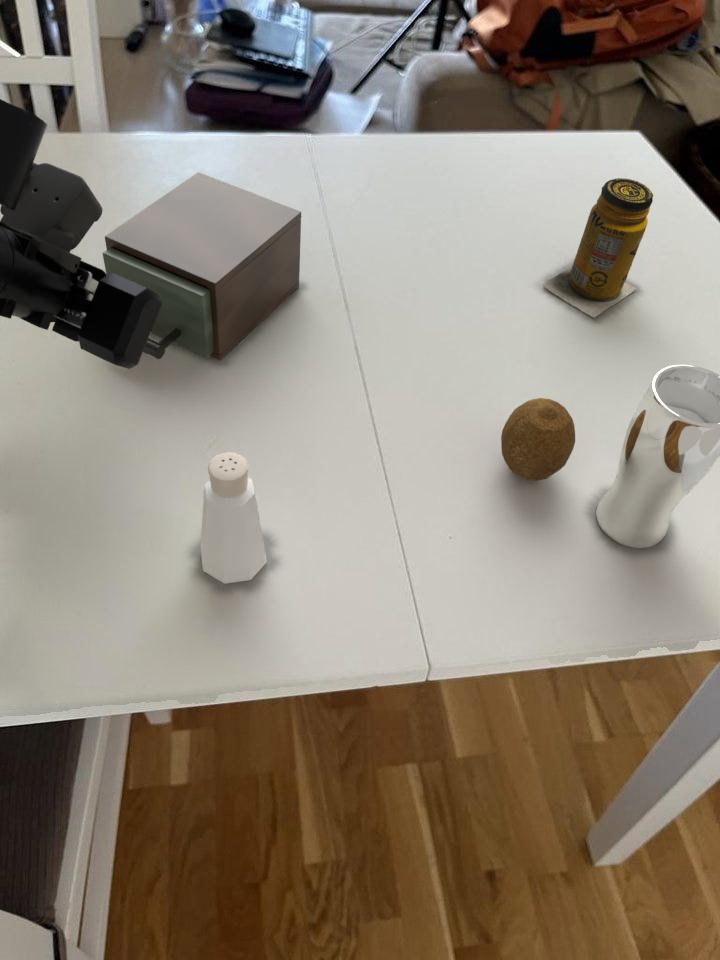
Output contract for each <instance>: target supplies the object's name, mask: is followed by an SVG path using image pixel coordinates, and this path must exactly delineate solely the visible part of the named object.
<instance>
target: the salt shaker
mask: <svg viewBox="0 0 720 960" xmlns="http://www.w3.org/2000/svg"><path fill="white" fill-rule="evenodd" d="M249 468H250V467H249V462H248V461H247V459H246V458H245V457H244V456H243V455H240V454H239V453H237V452H229V451H227V452H222V453H218V454H217V455H215V456H214V457H212V458H211V459H210V461H209V462H208V464H207V471H208V472H207V473H208V476H209V480H208V481H207V482H205V484H204V487H203V498H202V517H201V532H200V548H199V549H200V557H201V565H202V571H203V572H204V573H206V574H207V575H209V576H211V577H212V578H214V579H216V580H217V581H219V582H221V583H222V584H233V583H239V582H240V583H241V582H246V581H247V582H248V581H252V580H253V579H254V578H255V577H256V575H257V574H258V573H259V572H260V571H261V569H262V568H263V567H264V566H265V565H266V564H267V563H268V559H267V558H268V557H267V553H266V547H265V542H264V536H263V531H262V525H261V519H260V514H259V513H260V512H259V508H258V502H257V497H256V493H255V487H254V481H253V478H252V477H249Z"/></svg>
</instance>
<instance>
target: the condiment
mask: <svg viewBox="0 0 720 960" xmlns="http://www.w3.org/2000/svg"><path fill="white" fill-rule="evenodd" d="M653 198H654V193H653V192H652V191H651V189H650V188H649V187H648V186H646V184H643V183H642V182H639V181H638V180H634V179H631V178H623V177H622V178H621V177H619V178H618V177H617V178H613V179H609V180H608V181H606V182H605V183H604V184H603V186H602V187H601V193H600V195H599V196H598V198H597V199H596V203H595V204H594V205H593V206H592V207H591V209H590V212H589V215H588V217H587V220H586V224H585V226H584V230H583V233H582V236H581V239H580V242H579V245H578V248H577V251H576V254H575V257H574V260H573V262H572V266H571V267H569V268H567V269H565V270H564V271H562V272H559V273H558V274H556V275H554V277H552V278H551V279H548V280H546V281H545V282H543V283H542V284H541V286H543V287H544V288H546V289H547V290H548V291H549V292H551V293H552V294H555V295H556V296H558V298H560V299H562V300H563V301H565V302H566V303H568V304H569V305H570V307H571V306H572V307H574V308H577V309H578V310H580V311H581V312H582V313H585V314H587V315H588V316H590V317H591V318H593V319H595V318H596V317H598V316H599V315H601V314H602V313H604V311H606V310H607V309H609V308H611V307H612V306H614V305H615V304H617V303H619V302H620V301H622V300H623V299H625V298H626V297H628V296H629V295H631V294H632V293H633V292H634V291H635V290H637V287H635V286H633V285H631V284H629V283H627V282H626V281H627V278H628V275H629V272H630V271H631V268H632V266H633V262H634V260H635V258H636V256H637V252H638V249H639V247H640V244H641V242H642V239H643V237H644V235H645V232H646V229H647V226H648V221H649V220H648V215H649V213H650V208H651V205H652V204H653V202H654V201H653Z"/></svg>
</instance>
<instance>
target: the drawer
mask: <svg viewBox="0 0 720 960" xmlns="http://www.w3.org/2000/svg"><path fill="white" fill-rule="evenodd" d="M102 259H103V264H104V271H105V273H106V275H108V274H109V273H111V272H112V273H114V274H117V275H119V276H121V277H123V278H126V279H128V280H130V281H132V282H135V283H137V284H139V285H142V286H144V287H146V288H148V289H150V290H153V291H155V292H157V293H159V294H160V296H161V299H162V302H163V304H162V306H161V309H160V311H159V314H158V316H157V319H156V321H155V324H154V326H153V328H152V331H151V333H150V334H153V335H156V336H157V337H160V338H162V339H161V340H159V342H158V341H156V340H153V339H151V338H150V337H149V338H148V341H147V343H146V346H145V348H144V350H143V353H144V354H146V355H148V356H151V357H153V358H155V359H157V360H161V359H162V358H163V357H164V355H165V354H166V349H167V348H168V347H169V346H170V345H171V344H175V345H178V346H180V347H182V348H184V349H186V350H188V351H190V352H193V353H195V354H197V355H199V356H201V357H204V358H206V359H208V358H210V357H211V356H210V355H211V354H212V353H213V352H214V341H213V326H212V312H211V297H210V290H209V288H208V287H206V286H203V285H201V284H199V283H196V282H194V281H192V280H189V279H187V278H185V277H182V276H180V275H178V274H175V273H173V272H171V271H169V270H166V269H164V268H162V267H159V266H157V265H155V264H152V263H150V262H148V261H145V260H143V259H141V258H138V257H136V256H134V255H131V254H129V253H128V255H127V254H125V253H123V252H120V251H118V250H116V249H113V248H109V249H108V250H107V249H106V250H104V251H103V252H102Z"/></svg>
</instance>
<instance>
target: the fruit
mask: <svg viewBox="0 0 720 960" xmlns="http://www.w3.org/2000/svg"><path fill="white" fill-rule="evenodd" d="M500 437H501V438H500V441H501V443H500V445H501V456H502V457H503V461H504V462H505V464H506V465H507V467H508V470H510V471H511V472H512V473H514V474H515V475H516V476H517V477H520V478H522V479H525V480H528V481H540V480H546V479H548V478H550V477H551V476H553V475H554V474H556V473H558V472H559V471H560V470H562V468H564V467H565V465H566V464H567V462H568V460H569V459H570V457H571V455H572V452H573V451H574V448H575V444H576V429H575V423H574V419H573V418H572V416H571V414H570V413H569V411H568V410H567V408H566V407H565V406H564V405H562V404H561V403H560V402H559V401H556V400H554V399H550V398H544V397H539V398H533V399H530V400H527V401H525V402H524V403H522V404H520V405H519V406H517V407H516V408H515V409H514V410H513V411H512V412H511V413H510V415H509V416H508V418H507V420H506V422H505V423H504V426H503V428H502V430H501V436H500Z"/></svg>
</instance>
